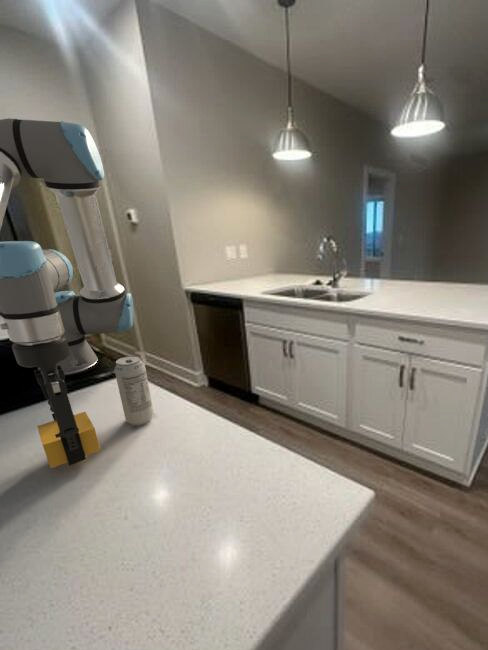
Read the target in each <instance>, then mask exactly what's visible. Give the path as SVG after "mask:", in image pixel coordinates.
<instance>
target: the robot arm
mask: <svg viewBox="0 0 488 650" xmlns="http://www.w3.org/2000/svg"><path fill="white" fill-rule="evenodd" d="M104 170H105V169H104V165H103V161H102V159H101V155H100V153H99V149H98V147H97V144H96V142H95V140H94V138H93V136H92V134H91V133H90V131H89V130H88V129H87V128H86V127H85V126H84V125H82V124H79V123H73V122H68V121H67V122H66V121H63V120H61V121H51V120H37V119H36V120H34V119H18V118H10V117H9V118H2V119H0V231H2V230H1V229H2V226H3V222H4V219H5V214H6V210H7V206H8V204H9V199H10V195H11V191H12V189H14V188H16V187H17V186H18V185H19V183H20V181H21V179H22V180H23V179H28V178H29V179H43V181H44V184H45V187H46V189H47V190H49V191H50V192H52V193H53V194H54V195H55V196H56V199H57V202H58V205H59V209H60V212H61V216H62V219H63V222H64V225H65V229H66V232H67V235H68V239H69V241H70V245H71V249H72V252H73V255H74V258H75V262H76V266H77V268H78V272H79V275H80V279H81V281H82V285H83V287H81V289H80V290H79V295H76V293H75V291H74V290H63V289H64V288H66V286H68V284H69V283H70V282H71V281H72V280H73V276H74V267H73V265H72V263H71V261H70V260H69V259H68V257H66V255H65V254H63V253H62V252H60V251H58V250H55V249H52V248H42V246H41V245H40V244H39V243H38V242H36V241H33V240H11V241H9V240H8V241H6V240H5V241H0V315H1V316H0V317H1V318H2V320H3V323H0V330H2V331H3V330H6V331H7V336H8V338H9V341H10V342H12V343H13V344H12V345H11V349H12V352H13V356H14V357H15V361H16V363H17V365H19V366H20V367H22V368H32V369H33V368H37V369H36V370H33V372H34V375H35V379H36V381H37V383H38V385H39V386H40V388H41V390H42V393H43V396H44V398H45V399H46V400H47V404H48V406H49V407H50V408H49V410H50V411H51V416H52V419H53V421H55V420H56V422H57V425H58V428H59V433H58V434H55V436H56V438H58V437H60V438H61V441H62V444H63V447H64V450H65V454H66V457H67V460H68V462H67V463H68V465H69V467H70V466H72V465H75V464H78V463H81V462H83V461H85V460H87V457H86V456H85V453H84V450H83V446H82V443H81V439H80V436H79V428H78V427H77V425H76V421H75V418H74V415H75V414H74V412H73V408H72V405H71V403H70V398H69V395H68V393H69V389H68V385H67V383H66V380H65V379H66V378H69V377H75V376H79V375H82V374H86V373H88V372H90V371H92V370H93V369H95V368H97V367H98V365H99V359H98V356H97V354H96V353H95V352H94V350H93V349H92V347H91V346H90V344H89V343H88V341H87V339H86V336H87V335H88V336H89V335H100V334H101V335H102V334H113V333H116V334H118V333H123V332H128V331H130V330H131V329H132V328H133V325H134V299H133V295H132V293H130V292H126V291H125V287H124V286H123V285H122V284H121V283H119V282H118V281H117V277H116V273H115V269H114V265H113V260H112V257H111V252H110V248H109V245H108V241H107V236H106V232H105V228H104V224H103V220H102V215H101V211H100V207H99V203H98V199H97V193H98V191H99V190H100V189H101V184H100V181H103V180H105V171H104ZM60 290H62V291H60ZM97 361H98V362H97ZM96 363H97V364H96ZM95 364H96V365H95ZM92 366H93V367H92ZM90 367H91V368H90ZM88 368H89V369H88Z"/></svg>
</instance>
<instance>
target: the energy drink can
mask: <svg viewBox="0 0 488 650" xmlns="http://www.w3.org/2000/svg"><path fill="white" fill-rule="evenodd" d="M115 364H116V365H115V367H114V374H115V375H114V376H115V379H116V383H117V388H118V393H119V396H120V401H121V406H122V409H123V415H124V419H125V421H126V422H127V423H129V425H131V426H143V425H146V424H148V423H149V422H151V420H152V419H153V417H154V415H155V412H154V408H153V402H152V396H151V390H150V386H149V385H150V384H149V379H148V375H147V369H146V365H145V363H144V362H143V361H142V360H141V357H140V356H138V355H137V356H136V355H129V356H128V355H127V356H124V357H121V358H118V359H117V360H116V361H115Z"/></svg>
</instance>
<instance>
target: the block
mask: <svg viewBox="0 0 488 650" xmlns="http://www.w3.org/2000/svg"><path fill="white" fill-rule="evenodd" d="M73 415H74V418H75V421H76V425H77V427H78V428H79V436H80V439H81V443H82V446H83V450H84V453H85V457H86V456H88V455H91V454H94V453H97V452H100V451H101V447H100V442H99V439H98V436H97V435H98V434H97V432H96V428H95V426H94V424H93V423H92V420H91V418H89V415H88V413H87V412H86V411H82V412H78V413H76V414H73ZM36 428H37V430H38V434H39V437H40V440H41V444H42V447H43V450H44V454H45V456H46V459H47V461H48V465H49V468H50V469H53V468H56V467H59V466H61V465H62V466H63V465H64V464H67V463H68V460H67V457H66V454H65V450H64V447H63V444H62V441H61V438H60V437H58V438H56V436H55V434H58V433H59V428H58V425H57V422H56V420H55V421H54V420H52V421H49V422H46V423H42V424H39V425H37V427H36Z"/></svg>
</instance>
